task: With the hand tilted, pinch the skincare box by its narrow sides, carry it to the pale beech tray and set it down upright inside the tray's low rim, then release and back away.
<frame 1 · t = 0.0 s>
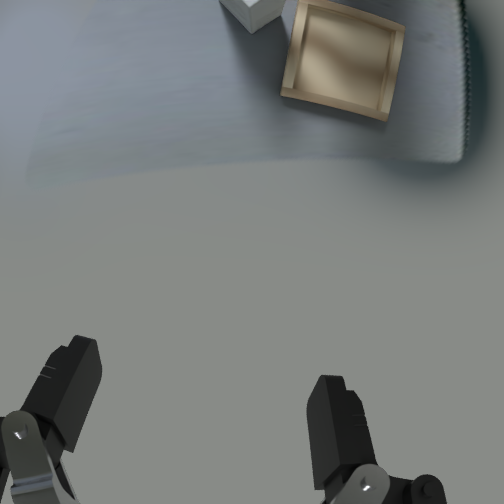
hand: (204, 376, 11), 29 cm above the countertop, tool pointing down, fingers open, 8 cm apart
skincare box: (249, 6, 28), on the countertop
holder: (342, 57, 30), on the countertop
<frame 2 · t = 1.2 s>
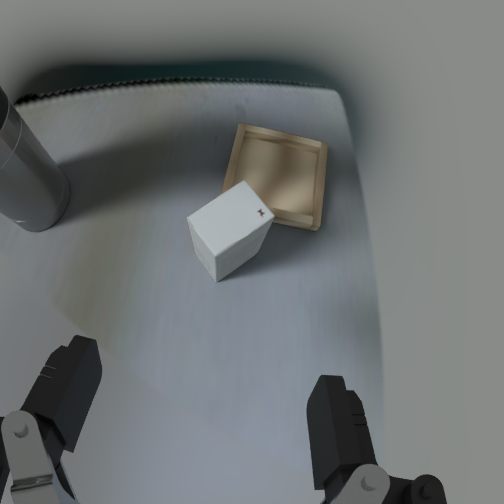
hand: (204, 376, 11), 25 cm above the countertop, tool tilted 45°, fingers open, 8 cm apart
skincare box: (225, 254, 38), on the countertop
holder: (275, 177, 41), on the countertop
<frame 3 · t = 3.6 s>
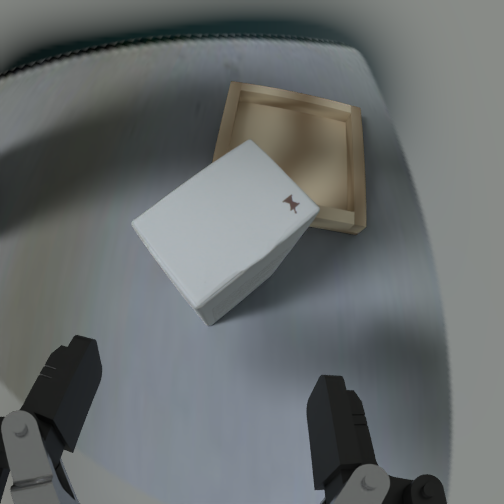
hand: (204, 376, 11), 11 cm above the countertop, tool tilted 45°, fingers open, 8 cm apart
skincare box: (221, 279, 23), on the countertop
holder: (289, 156, 26), on the countertop
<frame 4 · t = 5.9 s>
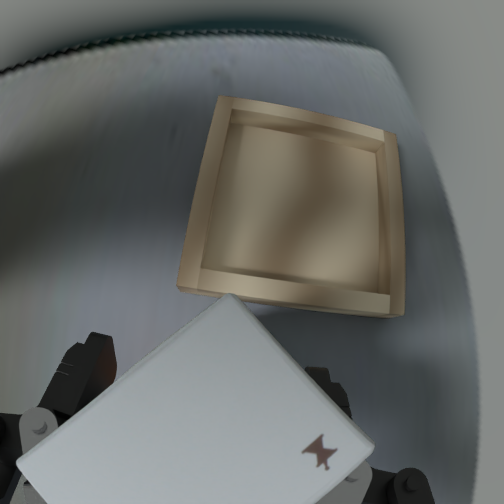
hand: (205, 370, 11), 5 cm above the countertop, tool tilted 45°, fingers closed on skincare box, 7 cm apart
skincare box: (204, 389, 16), on the countertop, touching gripper
holder: (300, 206, 19), on the countertop
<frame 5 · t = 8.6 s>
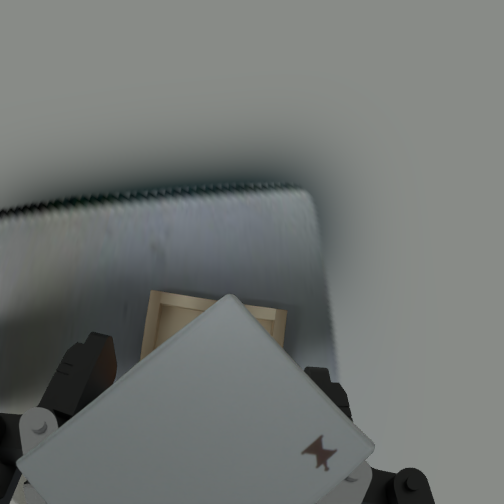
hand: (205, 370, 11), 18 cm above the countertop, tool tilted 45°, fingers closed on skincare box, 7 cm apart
skincare box: (204, 390, 16), point 12 cm above the countertop, touching gripper
holder: (209, 367, 28), on the countertop
when the fingers open (7 cm above the countertop, at t = 11.8 s): skincare box stays where it is, resting on holder.
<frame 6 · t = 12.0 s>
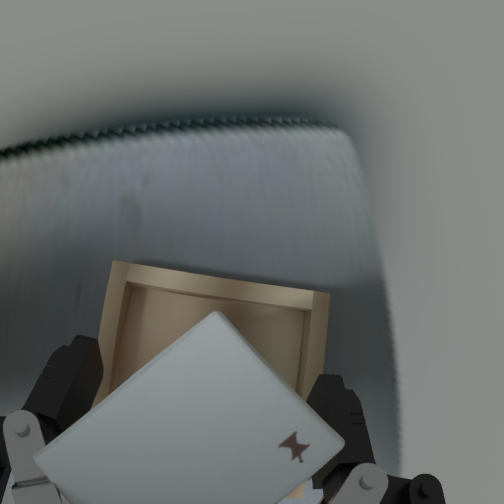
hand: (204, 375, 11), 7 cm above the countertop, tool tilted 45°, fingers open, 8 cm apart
skincare box: (201, 390, 17), resting on holder
holder: (205, 386, 17), on the countertop
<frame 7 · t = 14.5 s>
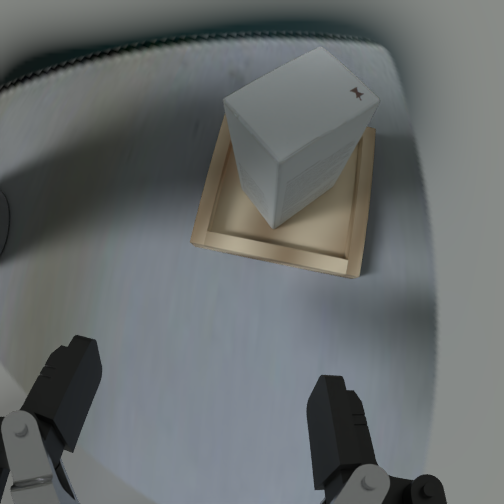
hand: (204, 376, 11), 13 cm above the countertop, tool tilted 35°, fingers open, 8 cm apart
skincare box: (286, 188, 25), resting on holder
holder: (289, 187, 25), on the countertop
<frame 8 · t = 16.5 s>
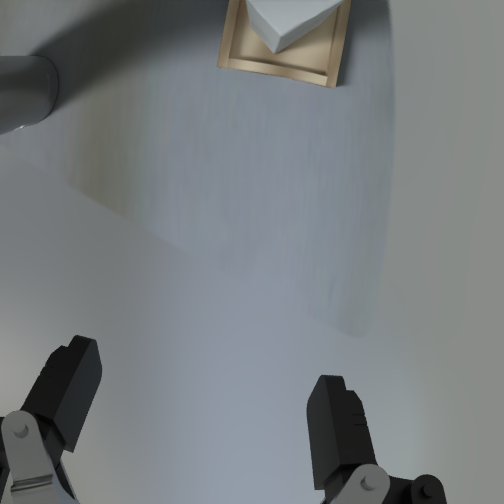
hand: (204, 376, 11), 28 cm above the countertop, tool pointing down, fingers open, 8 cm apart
skincare box: (283, 26, 27), resting on holder
holder: (285, 25, 28), on the countertop
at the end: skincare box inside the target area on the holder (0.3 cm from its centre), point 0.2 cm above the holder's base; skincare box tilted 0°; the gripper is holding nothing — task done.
